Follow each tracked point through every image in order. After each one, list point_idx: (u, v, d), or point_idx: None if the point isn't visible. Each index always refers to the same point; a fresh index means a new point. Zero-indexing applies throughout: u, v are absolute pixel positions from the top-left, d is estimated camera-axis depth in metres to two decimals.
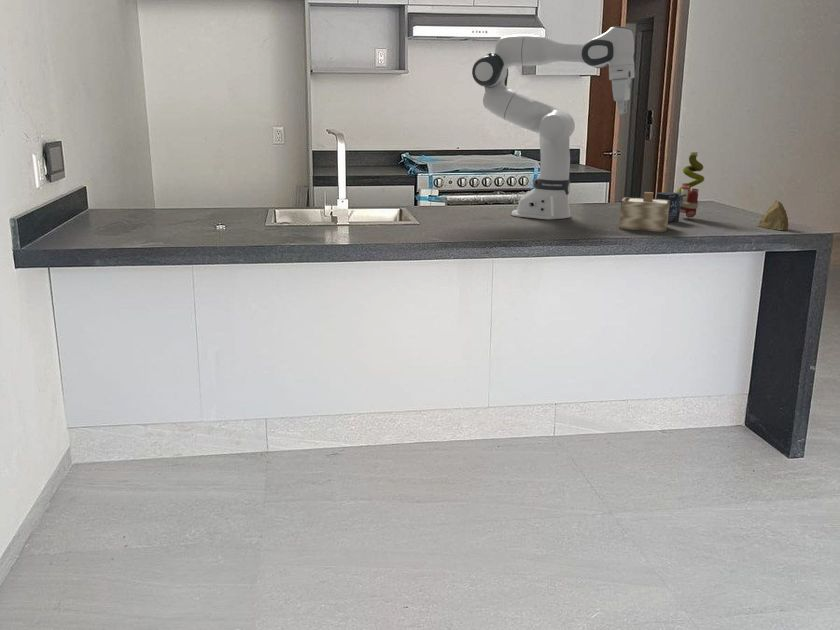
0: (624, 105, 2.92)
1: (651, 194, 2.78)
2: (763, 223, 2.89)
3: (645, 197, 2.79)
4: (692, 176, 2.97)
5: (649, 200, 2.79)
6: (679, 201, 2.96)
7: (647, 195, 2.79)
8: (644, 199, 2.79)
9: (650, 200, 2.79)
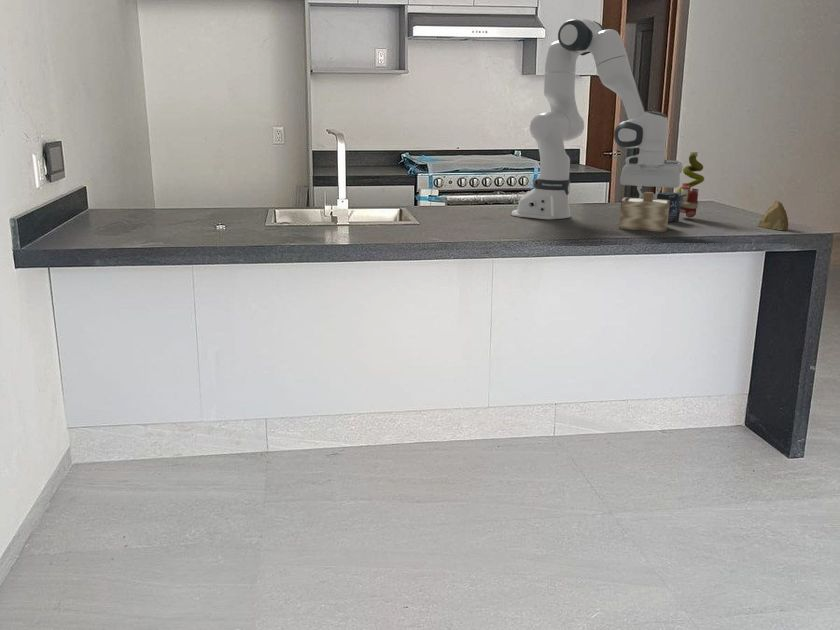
0: (657, 191, 2.78)
1: (651, 194, 2.78)
2: (763, 223, 2.89)
3: (645, 197, 2.79)
4: (692, 176, 2.97)
5: (649, 200, 2.79)
6: (679, 201, 2.96)
7: (647, 195, 2.79)
8: (644, 199, 2.79)
9: (650, 200, 2.79)
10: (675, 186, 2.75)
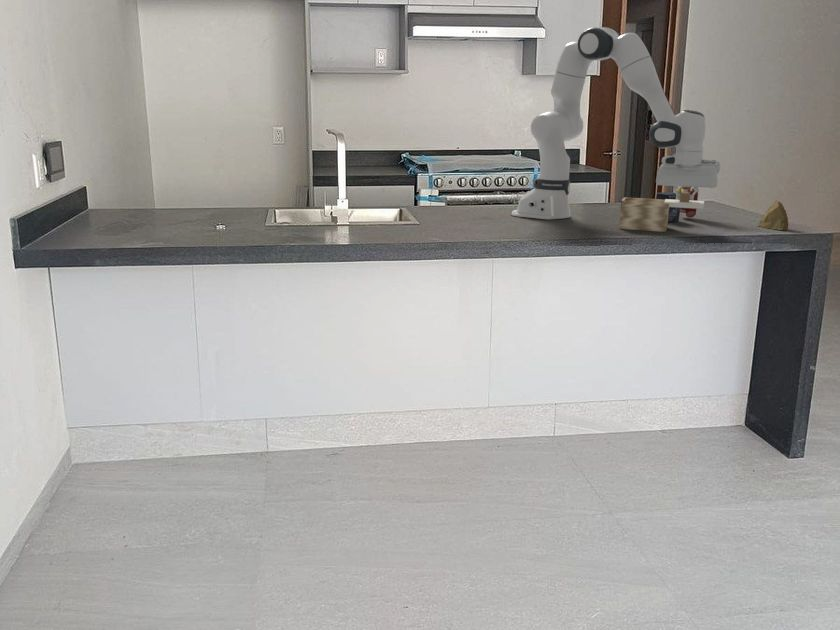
0: (694, 191, 2.74)
1: (688, 194, 2.74)
2: (763, 222, 2.88)
3: (682, 197, 2.75)
4: None
5: (686, 200, 2.75)
6: None
7: (684, 196, 2.75)
8: (681, 199, 2.75)
9: (687, 200, 2.75)
10: (713, 186, 2.70)
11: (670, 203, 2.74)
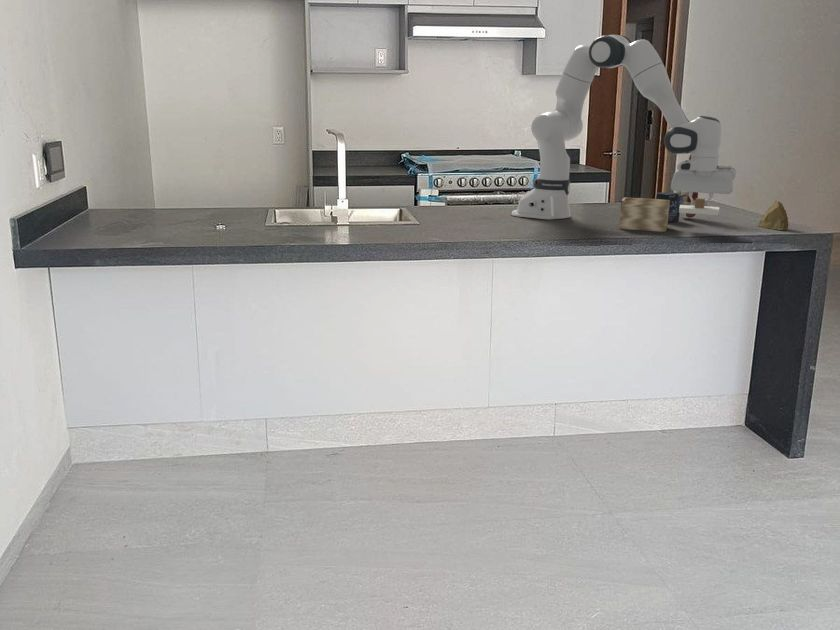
0: (709, 197, 2.73)
1: (703, 200, 2.73)
2: (763, 223, 2.89)
3: (697, 203, 2.74)
4: None
5: (701, 206, 2.74)
6: (679, 201, 2.96)
7: (699, 202, 2.73)
8: (696, 205, 2.74)
9: (702, 206, 2.74)
10: (728, 192, 2.69)
11: (685, 209, 2.73)
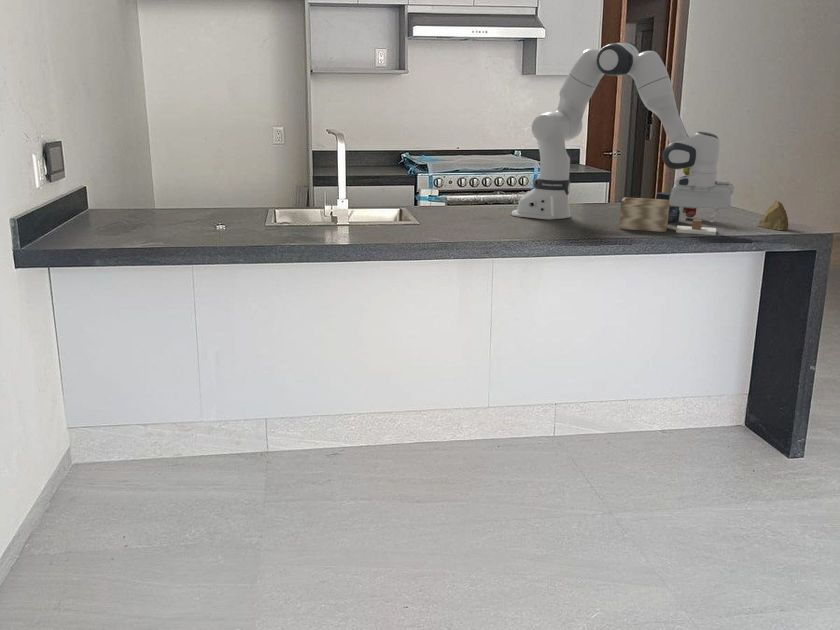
0: None
1: (700, 222, 2.75)
2: (763, 223, 2.89)
3: (694, 225, 2.76)
4: None
5: (698, 228, 2.76)
6: None
7: (696, 223, 2.76)
8: (693, 227, 2.76)
9: (699, 228, 2.76)
10: (726, 208, 2.71)
11: (682, 230, 2.75)
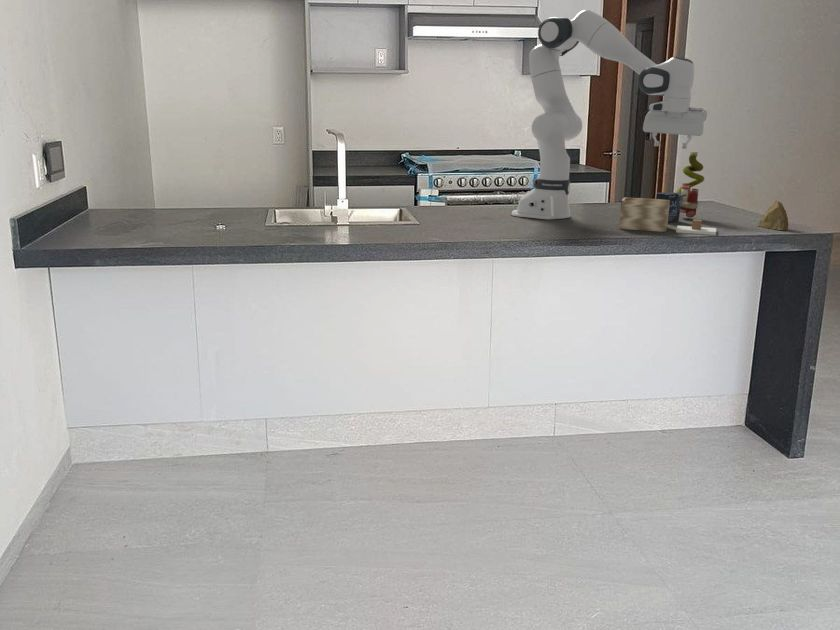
0: (687, 140, 2.75)
1: (700, 222, 2.75)
2: (763, 223, 2.89)
3: (694, 225, 2.76)
4: (692, 176, 2.97)
5: (698, 228, 2.76)
6: (679, 201, 2.96)
7: (696, 223, 2.76)
8: (693, 227, 2.76)
9: (699, 228, 2.76)
10: (698, 134, 2.72)
11: (682, 230, 2.75)
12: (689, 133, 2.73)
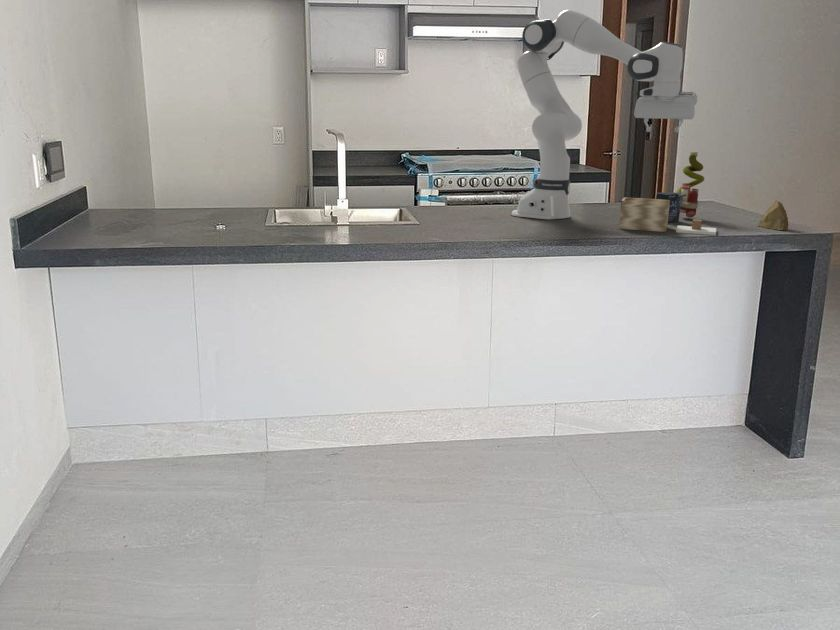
0: (679, 124, 2.76)
1: (700, 222, 2.75)
2: (763, 223, 2.89)
3: (694, 225, 2.76)
4: (692, 176, 2.97)
5: (698, 228, 2.76)
6: (679, 201, 2.96)
7: (696, 223, 2.76)
8: (693, 227, 2.76)
9: (699, 228, 2.76)
10: (690, 118, 2.73)
11: (682, 230, 2.75)
12: (680, 117, 2.74)
